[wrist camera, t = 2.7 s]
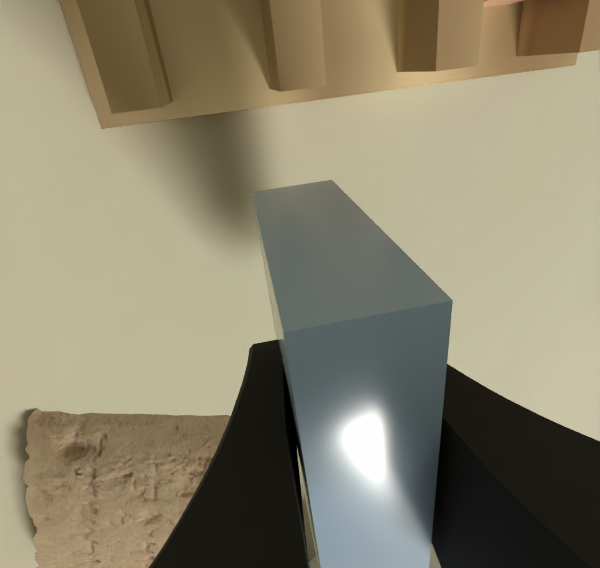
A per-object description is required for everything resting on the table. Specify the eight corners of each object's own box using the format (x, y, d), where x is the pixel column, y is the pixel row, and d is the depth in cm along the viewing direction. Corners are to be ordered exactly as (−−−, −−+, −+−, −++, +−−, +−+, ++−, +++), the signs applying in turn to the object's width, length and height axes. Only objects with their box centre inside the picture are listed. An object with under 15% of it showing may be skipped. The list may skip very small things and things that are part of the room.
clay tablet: (30, 391, 18) (0, 439, 15) (257, 391, 20) (262, 433, 18) (62, 576, 24) (45, 631, 22) (232, 560, 26) (234, 608, 24)
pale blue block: (331, 180, 10) (452, 300, 5) (348, 411, 14) (424, 620, 8) (251, 192, 10) (283, 332, 4) (290, 423, 14) (332, 644, 8)
